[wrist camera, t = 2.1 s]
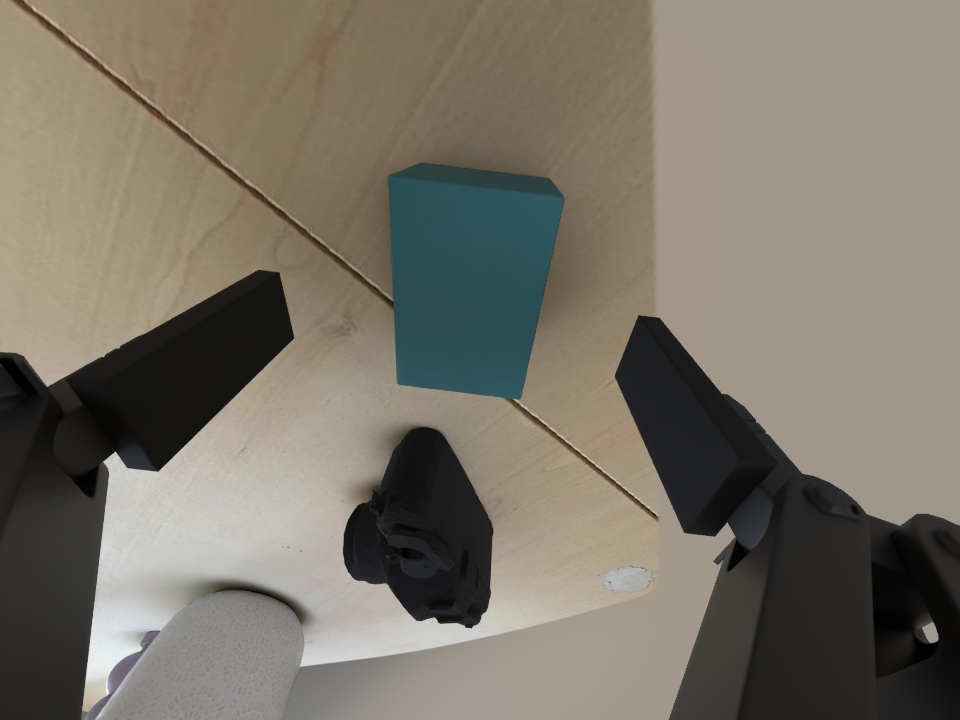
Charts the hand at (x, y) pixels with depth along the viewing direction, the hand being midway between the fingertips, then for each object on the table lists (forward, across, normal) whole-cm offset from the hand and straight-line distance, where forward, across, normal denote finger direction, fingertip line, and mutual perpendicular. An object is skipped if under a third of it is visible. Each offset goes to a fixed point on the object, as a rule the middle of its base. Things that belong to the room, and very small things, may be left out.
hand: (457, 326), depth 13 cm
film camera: (+7, -2, -20) cm, 21 cm away
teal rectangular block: (+6, 0, 0) cm, 6 cm away
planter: (+7, -24, -49) cm, 55 cm away
